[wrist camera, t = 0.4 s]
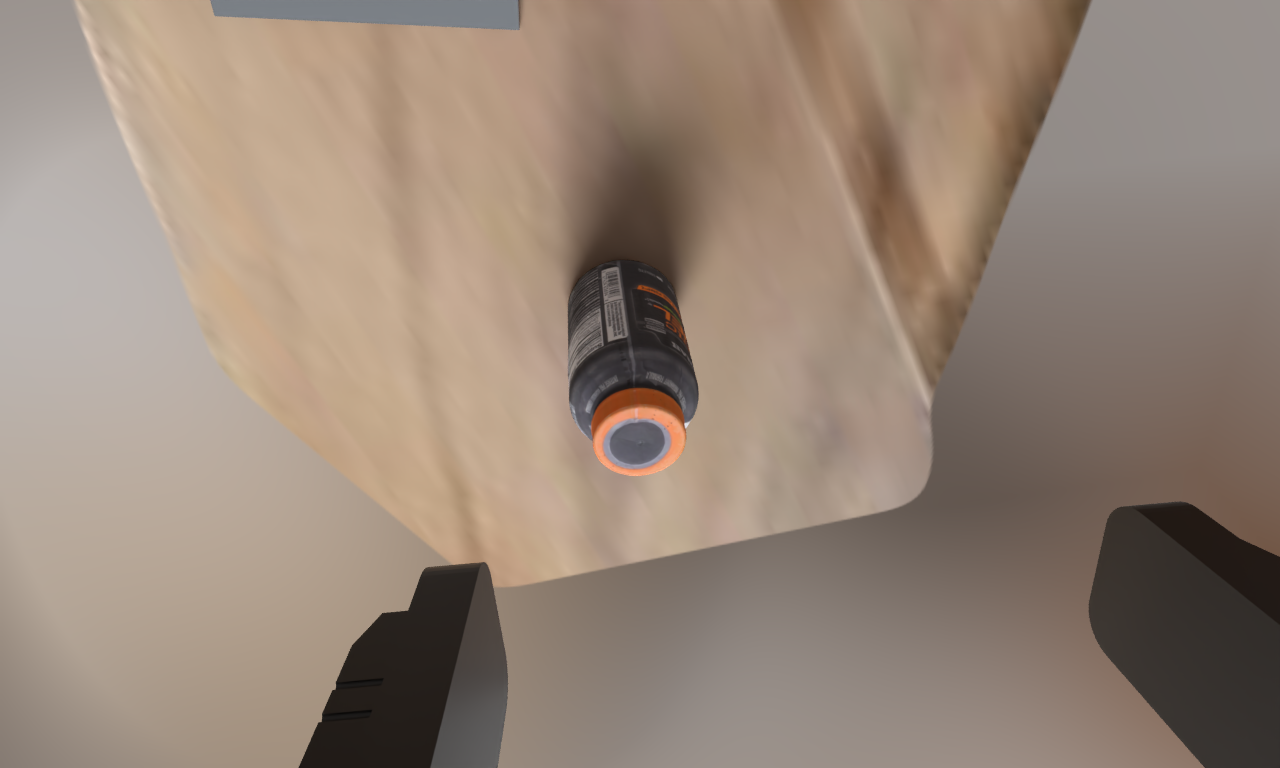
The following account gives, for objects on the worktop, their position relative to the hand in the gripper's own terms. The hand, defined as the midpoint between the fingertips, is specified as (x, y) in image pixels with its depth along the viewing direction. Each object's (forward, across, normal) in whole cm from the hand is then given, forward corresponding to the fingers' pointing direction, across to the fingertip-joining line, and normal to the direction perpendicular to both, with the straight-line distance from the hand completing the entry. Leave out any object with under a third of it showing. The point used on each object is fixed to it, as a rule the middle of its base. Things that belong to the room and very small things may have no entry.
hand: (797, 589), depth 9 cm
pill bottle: (+30, +2, +5) cm, 31 cm away
